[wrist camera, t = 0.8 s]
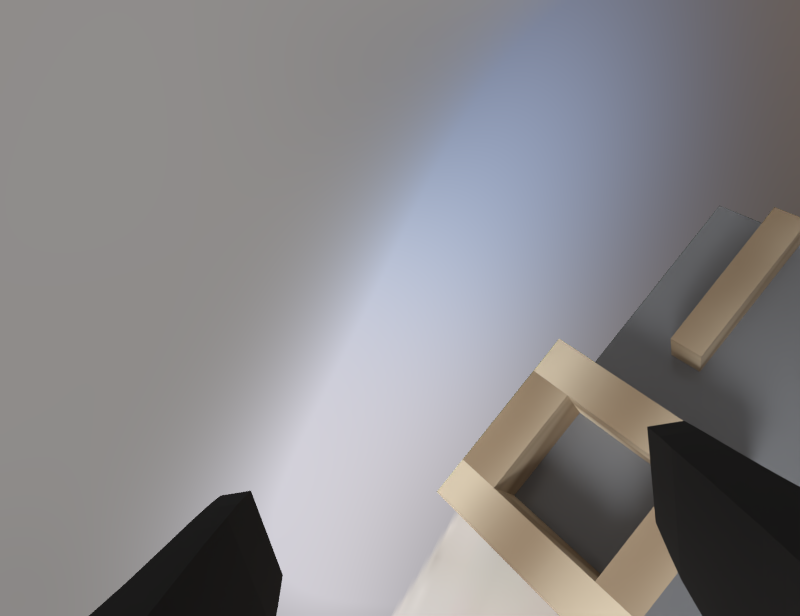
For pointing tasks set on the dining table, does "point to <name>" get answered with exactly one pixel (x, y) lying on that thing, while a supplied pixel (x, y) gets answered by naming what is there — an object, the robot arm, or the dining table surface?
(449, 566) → the dining table surface
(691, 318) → the beech rail
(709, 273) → the slate board
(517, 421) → the beech socket block
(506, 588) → the dining table surface
